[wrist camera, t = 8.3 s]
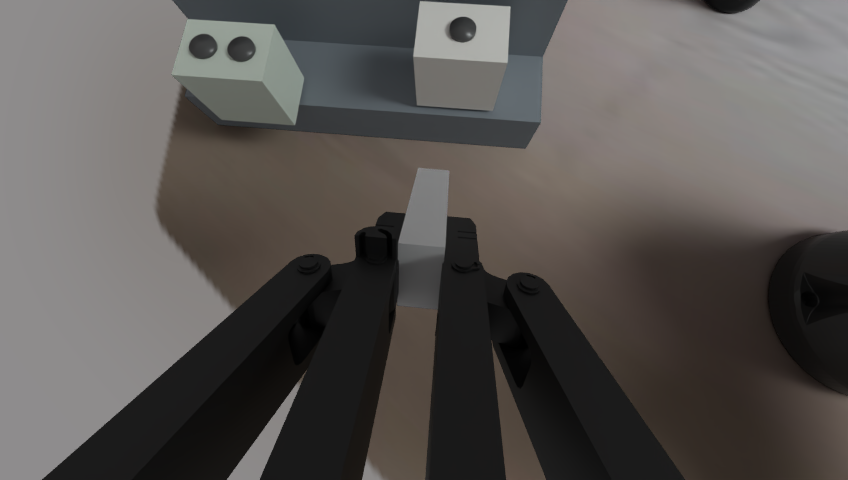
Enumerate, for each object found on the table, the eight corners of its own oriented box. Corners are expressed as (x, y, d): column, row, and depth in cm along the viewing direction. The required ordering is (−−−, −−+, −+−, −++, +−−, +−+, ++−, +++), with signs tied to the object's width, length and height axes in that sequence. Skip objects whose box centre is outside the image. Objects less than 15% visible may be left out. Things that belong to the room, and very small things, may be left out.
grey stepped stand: (525, 148, 35) (585, 45, 21) (217, 124, 36) (88, 14, 23) (529, 37, 38) (585, -118, 24) (243, 19, 39) (142, -136, 26)
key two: (295, 125, 30) (259, 78, 24) (221, 119, 30) (168, 72, 24) (304, 77, 31) (272, 21, 25) (233, 72, 31) (184, 15, 25)
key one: (492, 110, 30) (508, 59, 24) (416, 105, 30) (413, 53, 24) (495, 63, 31) (511, 3, 25) (422, 58, 31) (419, -3, 25)
